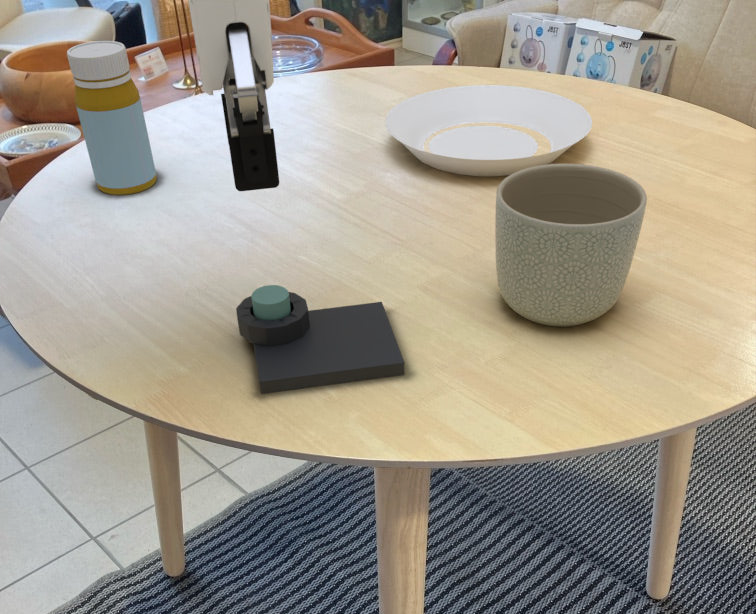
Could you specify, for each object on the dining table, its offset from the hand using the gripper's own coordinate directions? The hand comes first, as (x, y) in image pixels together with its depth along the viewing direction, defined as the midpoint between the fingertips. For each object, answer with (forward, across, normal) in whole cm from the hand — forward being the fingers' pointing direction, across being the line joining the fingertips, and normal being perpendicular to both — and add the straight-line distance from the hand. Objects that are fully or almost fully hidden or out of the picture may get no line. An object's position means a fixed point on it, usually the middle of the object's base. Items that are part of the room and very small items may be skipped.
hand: (253, 164), depth 65 cm
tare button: (+13, 0, 0) cm, 13 cm away
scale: (+16, +3, +4) cm, 17 cm away
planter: (+16, 0, +26) cm, 31 cm away
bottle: (+16, -38, -14) cm, 44 cm away
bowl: (+16, -38, +30) cm, 51 cm away
